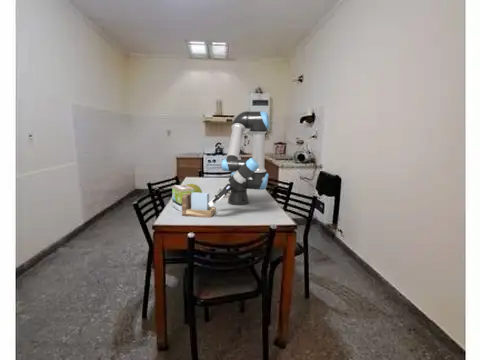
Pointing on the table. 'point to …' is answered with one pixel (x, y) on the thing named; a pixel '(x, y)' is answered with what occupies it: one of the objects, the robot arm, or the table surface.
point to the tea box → (180, 195)
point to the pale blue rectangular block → (200, 201)
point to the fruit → (195, 188)
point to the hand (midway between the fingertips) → (212, 202)
